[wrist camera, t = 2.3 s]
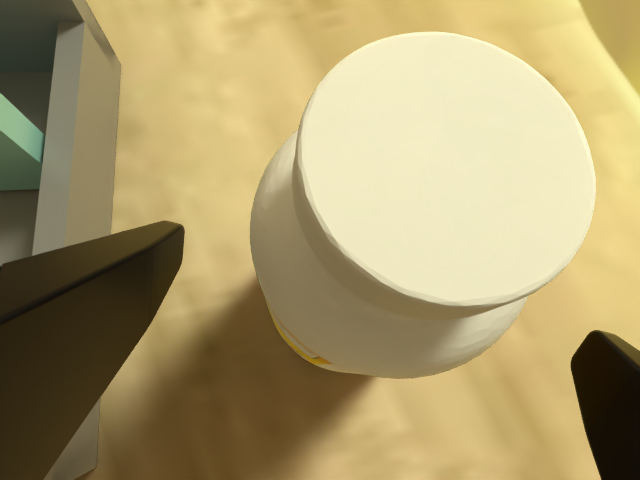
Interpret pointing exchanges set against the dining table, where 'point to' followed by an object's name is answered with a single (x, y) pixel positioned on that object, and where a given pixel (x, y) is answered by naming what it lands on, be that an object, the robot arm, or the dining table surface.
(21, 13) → the tray
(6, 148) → the pusher plate
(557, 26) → the dining table surface
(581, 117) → the dining table surface
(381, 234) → the supplement bottle
